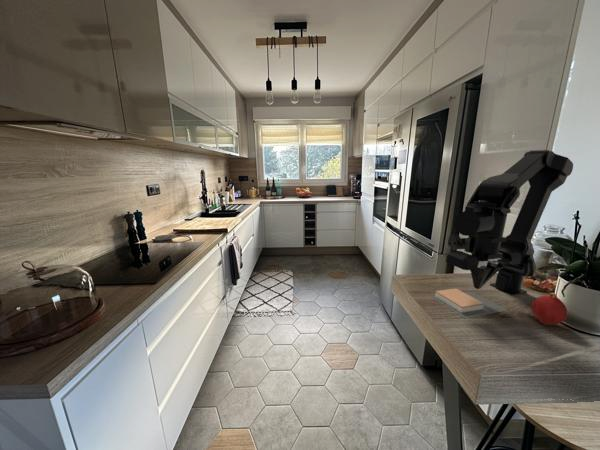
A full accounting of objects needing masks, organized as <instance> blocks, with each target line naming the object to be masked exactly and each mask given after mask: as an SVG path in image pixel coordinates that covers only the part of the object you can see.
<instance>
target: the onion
mask: <svg viewBox="0 0 600 450" xmlns="http://www.w3.org/2000/svg"><path fill="white" fill-rule="evenodd" d="M567 308H568V307H567V306H566V305H565V303H564V302H563V301H562V300H561V299H560V298H559V297H558V296H557V294H556V293H555V292H550V293H548V294H547V295H541V296H538V297H537V298H535V299H534V300H533V301H532V304H531V309H530V310H531V312H532V314H533V315H534V317H535V318H536V319H537V320H538V321H539V322H540V323H541V324H542V325H545V326H553V325H558V324H561V323H563V322H564V321H565V320H566V319H567V317H568V309H567Z"/></svg>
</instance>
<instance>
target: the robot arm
mask: <svg viewBox="0 0 600 450" xmlns="http://www.w3.org/2000/svg"><path fill="white" fill-rule="evenodd" d="M573 169H574V162H573V161H571V160H570V158H569V157H567V156H563V155H561V154H558V153H555V152H554V151H552V150H549V149H540V150H539V149H538V150H535V149H534V150H529V151H526V152H525V153H524V155H523V157H522V158H521V159H519V160H518V161H517V162H515V163H514V164H513V165H512V166H511V167H509V168H508V169H506V171H504V172H502V173H501V174H497V175H493V176H490V177H488V178H485V179H483V180H482V181H481V182H480V183H479V184H478V185H477V187H476V188H475V190H474V191H473V193H472V195H471V197H470V199H469V200H468V202H467V204H466V206H465V207H464V211H461V212H459V213H458V214H457V215H456V216H455V218H454V220H453V226H454V229H455V230H456V231H457V233H458V234H456V235H455V234H453V235H449V236H448V238H447V245H448V247H449V248H452V251H449V252H448V253H446V254H445V255H446V256H445V261H444V262H445V263H447V264H450V265H452V266H454V267H456V268H458V269H461V270H463V271H470V274H471V279H472V283H473V287H474V288H475V289H477V290H480V289H481V288H483V286H484V285H485V284H486V283H487V282H489V280H491V278H492V277H493V276H495V275H496V279H495V282H494V283H489V286H491V287H493V288H495V289H498V290H499V291H501V292H502V291H503V292H504V293H506V294H508V295H513V296H514V295H520V294H527V293H528V291H527V290H525V289H522V288H523V283H524V281H525V280H524V279H525V277H532V278H533V277H534V275H535V273H536V271H537V265H536V261H535V259H534V258H535V257H534V254H535V249H534V246H533V245H534V244H533V243H532V239H533V236H534V235H535V231H536V229H537V227H538V226H539V222H540V220H541V218H542V215H543V213H544V211H545V209H546V206H547V204H548V201H549V199H550V198H551V195H552V193H553V192H554V191H555V190H557V189H558V188H559V187H562V186H563V185H564V184H565V182H566V180H567V178H568V176H570V175H571V174H572V172H573ZM527 182H528V184H529V189H528V191H527V194H526V195H525V197H524V198H525V199H524V201H523V203H522V205H521V208H520V210H519V212H518V215H517V217H516V219H515V222H514V225H513V226H512V229H511V231H510V233H509V234H508V235H507V236H503V235H504V232H505V228H506V227H505V226H506V221H507V219H508V218H507V217H508V214H510V213H511V212H512V210H511V208H512V207H513V205H514V204H515V202H517V200H518V199H519V197H520V196H521V195H520V194H521V193H520V192H521V189H520V188H522V186H523V185H524V184H526V183H527ZM459 234H460V235H462V236H465V237H460V235H459ZM466 236H467V237H466ZM456 250H457V251H456ZM458 250H459V251H458ZM462 250H464V251H462Z"/></svg>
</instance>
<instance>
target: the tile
mask: <svg viewBox="0 0 600 450" xmlns="http://www.w3.org/2000/svg"><path fill="white" fill-rule="evenodd" d="M434 297H437V298H438V299H440V300H441V301H443V302H444V303H446V304H448V305H449V306H451V307H452V308H454V309H456V310H457V311H459V312H460V313H463V312H468V311H474V310H480V309H483V305H484V303H482V302H480V301H479V300H477V299H475V298H473V297H471V296H469V295H467V294H466V293H464V292H463V291H462V290H460V289H458V288H449V289H442V290H435V294H434Z"/></svg>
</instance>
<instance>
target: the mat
mask: <svg viewBox="0 0 600 450" xmlns="http://www.w3.org/2000/svg"><path fill="white" fill-rule="evenodd" d="M464 293H466V294H467V295H469V296H471V297H473V298H475V299H477V300H479V301H480V302H482V303H484V305H483V309H480V310H474V311H468V312H463V313H460V312H459V311H457V310H456V309H454V308H452V307H451V306H449V305H448V304H446V303H444V302H443V301H441V300H440V299H438V298H437V297H435V296H432V297H431V298H432V299H434V300H436V301H437V302H439V303H440V304H442V305H443V306H445V307H446V308H448V309H450V310H451V311H452V312H454V313H456V314H458V315H459V316H461V317H462V318H463V319H467V318H475V317H479V316H484V315H486V316H487V315H493V314H496V313H502V312H507V311H509V310H508V309H506V308H504V307H502V306H500V305H499V304H497V303H495V302H493V301H492V300H491V301H490V300H489V299H487V298H485V297H483V296H481V295H479V294H477V293H475V292H473V291H465V292H464Z"/></svg>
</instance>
